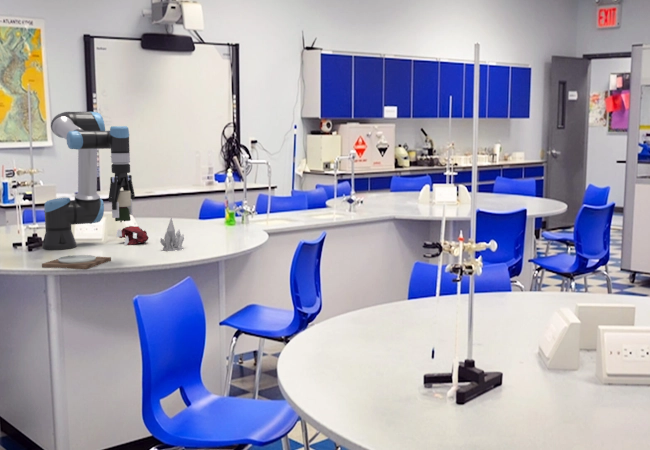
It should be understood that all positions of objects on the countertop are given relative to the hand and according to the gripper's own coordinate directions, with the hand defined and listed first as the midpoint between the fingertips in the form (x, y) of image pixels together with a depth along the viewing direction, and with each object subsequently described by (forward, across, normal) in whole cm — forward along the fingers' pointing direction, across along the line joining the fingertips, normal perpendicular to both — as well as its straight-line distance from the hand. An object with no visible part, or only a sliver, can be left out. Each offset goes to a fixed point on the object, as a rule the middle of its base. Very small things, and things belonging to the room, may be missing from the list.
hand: (122, 216), depth 313 cm
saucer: (+18, +7, -18) cm, 27 cm away
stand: (+20, +7, -18) cm, 28 cm away
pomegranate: (+20, -49, -21) cm, 57 cm away
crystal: (+20, -38, +5) cm, 43 cm away
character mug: (+3, 0, 0) cm, 3 cm away
